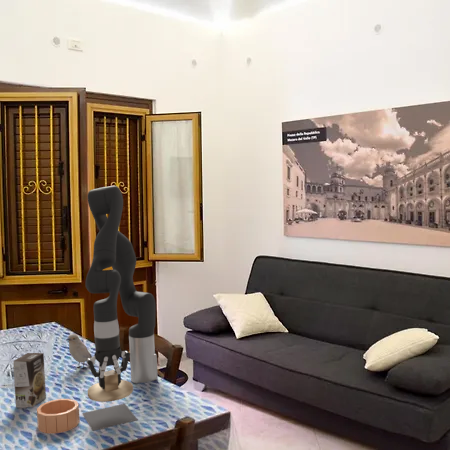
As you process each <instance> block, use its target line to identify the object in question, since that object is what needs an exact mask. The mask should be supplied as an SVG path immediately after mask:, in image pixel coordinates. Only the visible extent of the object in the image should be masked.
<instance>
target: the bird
mask: <svg viewBox="0 0 450 450" xmlns="http://www.w3.org/2000/svg"><path fill="white" fill-rule="evenodd" d="M65 341H66V342H67V341H68V350H69V351H68V352H69V354H70V356H71V357H72V358H73V359H74V361H76V362H77V363H78V366H76V367H75V368H76V369H79V370H80V369H81V370H85V368H86V366H85V362H86V359H87V358H89V359H90V358H92V357H93V356H92V354H91V353H90V352H89V349H88V348H87V346H86V344H85V342H83V341H82V340H81V339H80V337H79V336H78V334H76V333H70V334H69V335H68V336H67V338H66V339H65ZM81 363H82V364H83V365H80V364H81Z"/></svg>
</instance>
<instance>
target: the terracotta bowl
mask: <svg viewBox="0 0 450 450" xmlns="http://www.w3.org/2000/svg"><path fill="white" fill-rule="evenodd" d="M80 420H81V419H80V404H79V402H78V401H77V400H74V399H72V398H57V399H54V400H48V401H47V402H44V403H41V404H40V405H39V406H38V407H37V408H36V421H37V429H38V431H39V432H42V433H44V434H60V433H65V432H68V431H71V430H73V429H75V428H76V427H77V426H78V425H79V423H80V422H81V421H80Z"/></svg>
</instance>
